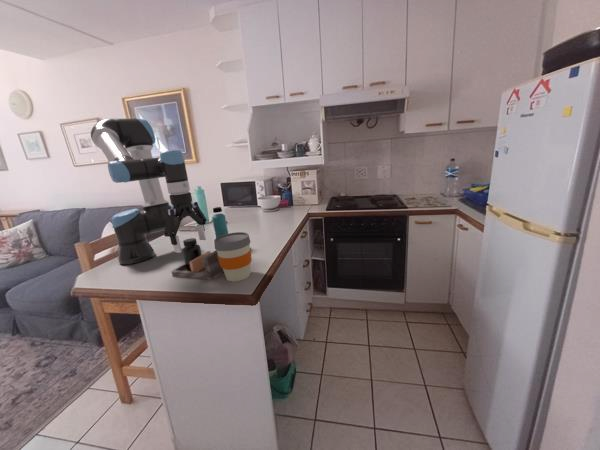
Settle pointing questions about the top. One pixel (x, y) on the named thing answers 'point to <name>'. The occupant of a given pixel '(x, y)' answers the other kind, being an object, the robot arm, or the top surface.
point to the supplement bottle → (190, 251)
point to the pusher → (198, 262)
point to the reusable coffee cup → (234, 255)
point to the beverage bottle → (219, 222)
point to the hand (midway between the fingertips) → (191, 245)
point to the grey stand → (208, 272)
